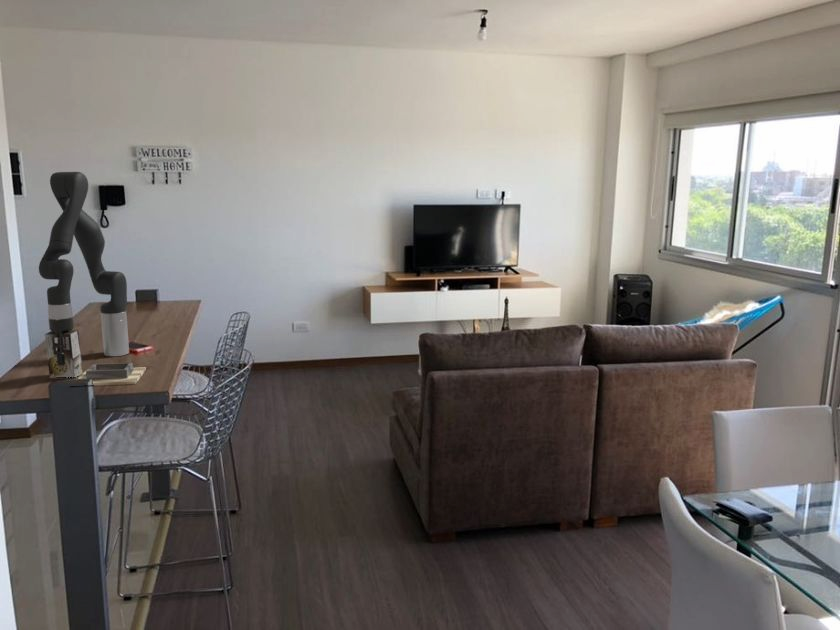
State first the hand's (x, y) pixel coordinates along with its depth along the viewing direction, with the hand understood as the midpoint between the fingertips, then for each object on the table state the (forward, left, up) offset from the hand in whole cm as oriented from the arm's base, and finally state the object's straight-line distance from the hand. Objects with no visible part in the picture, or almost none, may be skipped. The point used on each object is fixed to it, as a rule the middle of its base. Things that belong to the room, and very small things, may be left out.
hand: (64, 362), depth 237 cm
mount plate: (+5, +16, -5) cm, 18 cm away
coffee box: (0, 0, -5) cm, 5 cm away
